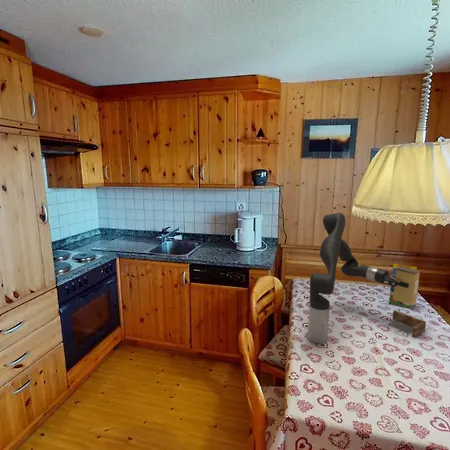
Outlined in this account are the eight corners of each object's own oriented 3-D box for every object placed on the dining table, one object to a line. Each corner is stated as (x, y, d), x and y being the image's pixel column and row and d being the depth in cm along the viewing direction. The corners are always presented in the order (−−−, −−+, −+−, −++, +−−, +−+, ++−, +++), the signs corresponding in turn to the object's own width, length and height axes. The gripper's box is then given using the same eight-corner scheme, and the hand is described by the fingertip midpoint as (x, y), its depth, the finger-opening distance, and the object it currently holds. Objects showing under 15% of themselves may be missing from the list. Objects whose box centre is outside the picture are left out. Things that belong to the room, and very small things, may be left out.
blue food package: (411, 309, 179) (416, 268, 174) (388, 304, 185) (393, 265, 180) (412, 305, 184) (417, 265, 179) (390, 300, 190) (394, 262, 185)
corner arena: (383, 324, 161) (384, 316, 160) (393, 318, 167) (394, 310, 166) (415, 337, 148) (416, 328, 147) (424, 330, 155) (426, 321, 154)
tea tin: (393, 299, 158) (396, 268, 155) (397, 296, 161) (401, 266, 157) (412, 305, 151) (416, 273, 147) (416, 302, 153) (420, 270, 150)
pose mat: (387, 324, 161) (387, 324, 161) (393, 320, 165) (393, 320, 165) (409, 333, 152) (409, 333, 152) (415, 329, 156) (415, 328, 156)
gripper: (371, 271, 161) (405, 280, 147) (384, 266, 169) (417, 274, 156) (369, 284, 162) (403, 295, 149) (383, 278, 171) (416, 288, 157)
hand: (410, 284), depth 152 cm, fingers closed on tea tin, 5 cm apart
